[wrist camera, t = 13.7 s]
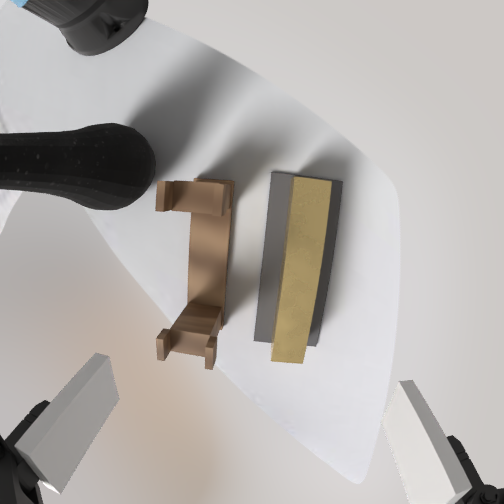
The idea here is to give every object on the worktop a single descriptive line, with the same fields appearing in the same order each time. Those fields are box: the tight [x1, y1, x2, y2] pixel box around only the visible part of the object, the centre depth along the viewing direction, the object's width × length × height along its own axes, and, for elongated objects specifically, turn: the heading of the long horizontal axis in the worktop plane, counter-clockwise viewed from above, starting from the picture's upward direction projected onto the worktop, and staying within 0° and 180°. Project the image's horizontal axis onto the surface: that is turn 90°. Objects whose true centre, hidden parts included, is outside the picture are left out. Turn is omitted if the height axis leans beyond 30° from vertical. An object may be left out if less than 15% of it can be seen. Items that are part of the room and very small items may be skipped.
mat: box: [254, 172, 343, 346], centre depth 37 cm, size 23×9×1 cm, turn 175°
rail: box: [271, 176, 332, 364], centre depth 34 cm, size 22×4×6 cm, turn 175°
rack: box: [156, 178, 234, 370], centre depth 32 cm, size 20×6×11 cm, turn 175°
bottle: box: [0, 123, 155, 210], centre depth 21 cm, size 11×11×30 cm
